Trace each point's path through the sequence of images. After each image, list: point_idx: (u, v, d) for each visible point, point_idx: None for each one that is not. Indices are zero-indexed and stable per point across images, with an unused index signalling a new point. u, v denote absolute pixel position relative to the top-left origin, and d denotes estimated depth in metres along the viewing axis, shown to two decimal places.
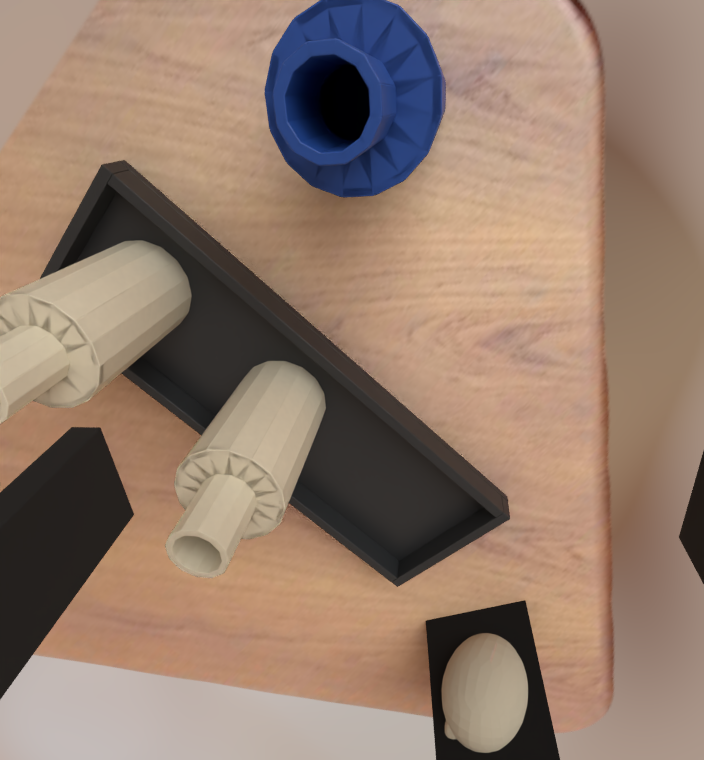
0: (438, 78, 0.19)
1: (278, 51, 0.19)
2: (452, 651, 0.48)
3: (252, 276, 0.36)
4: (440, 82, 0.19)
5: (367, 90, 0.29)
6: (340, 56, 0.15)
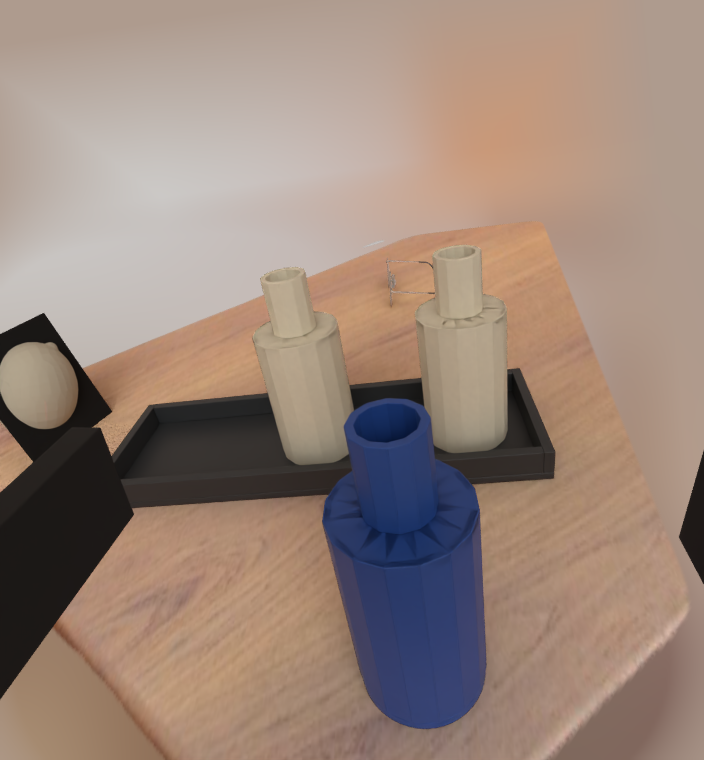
0: (353, 557, 0.21)
1: (471, 490, 0.23)
2: (78, 400, 0.56)
3: None
4: (349, 555, 0.21)
5: None
6: (400, 440, 0.19)
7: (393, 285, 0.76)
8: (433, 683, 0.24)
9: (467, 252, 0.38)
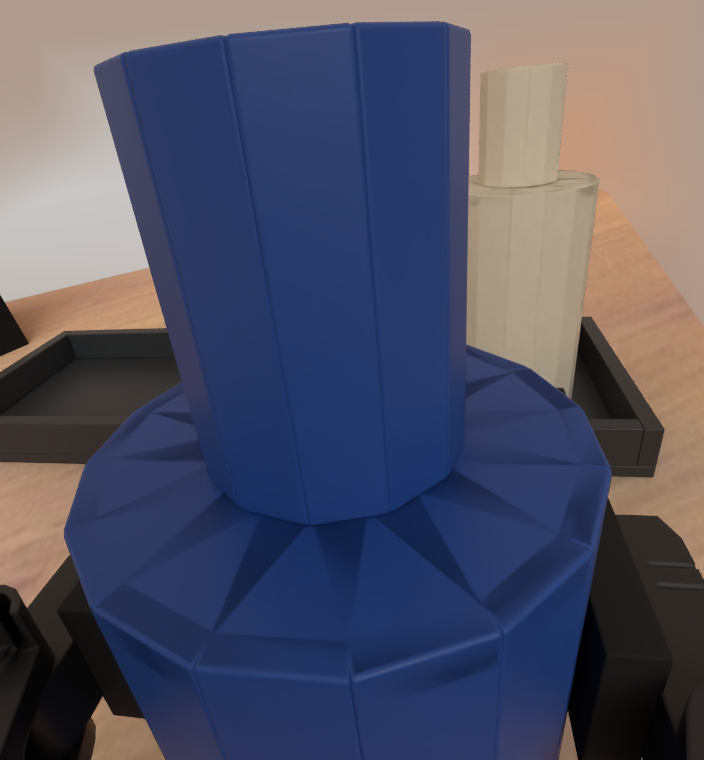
0: (101, 595, 0.05)
1: (572, 414, 0.07)
2: None
3: None
4: (88, 586, 0.05)
5: None
6: None
7: None
8: None
9: None
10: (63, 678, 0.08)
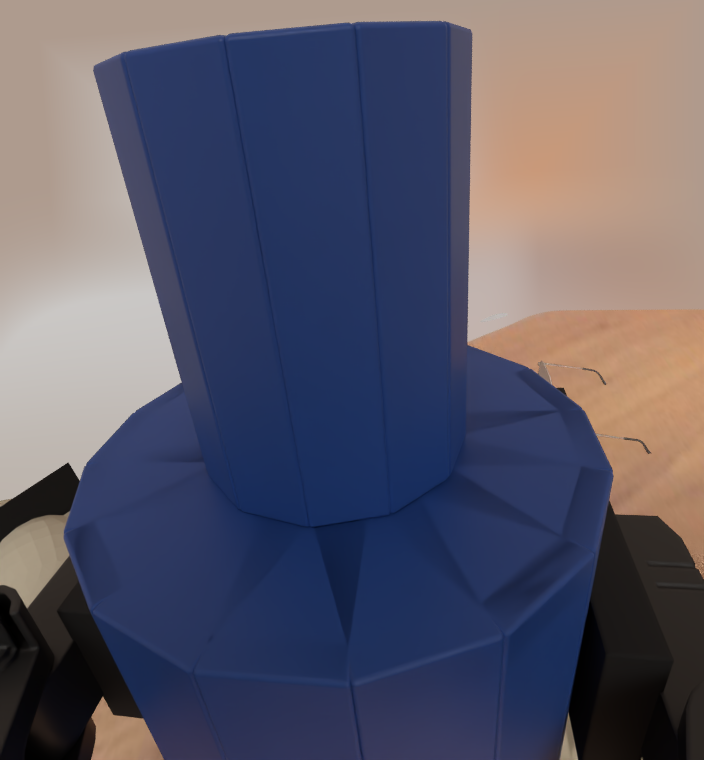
0: (101, 597, 0.05)
1: (573, 415, 0.07)
2: None
3: None
4: (88, 588, 0.05)
5: None
6: None
7: None
8: None
9: None
10: (63, 678, 0.08)
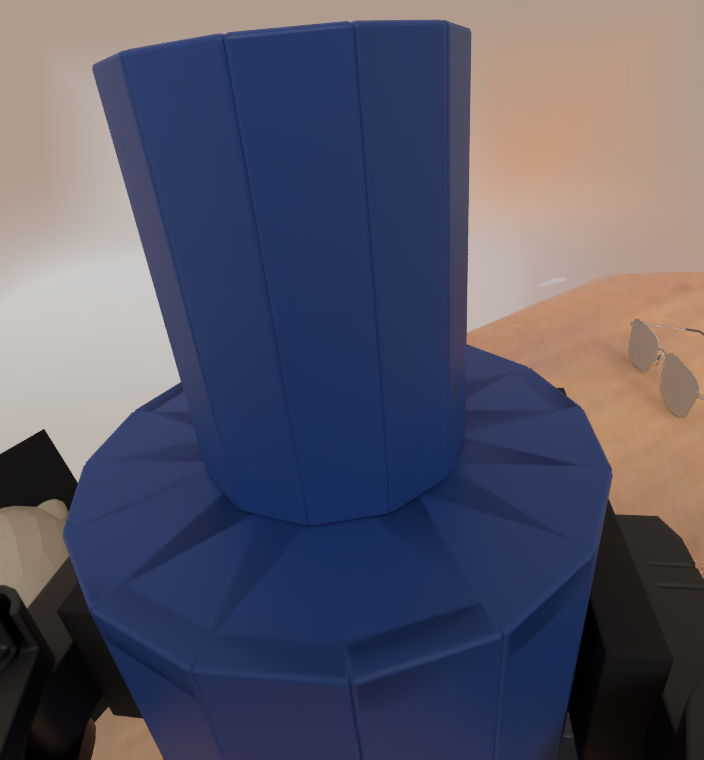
0: (100, 596, 0.05)
1: (572, 415, 0.07)
2: None
3: None
4: (87, 587, 0.05)
5: None
6: None
7: None
8: None
9: None
10: (63, 678, 0.08)
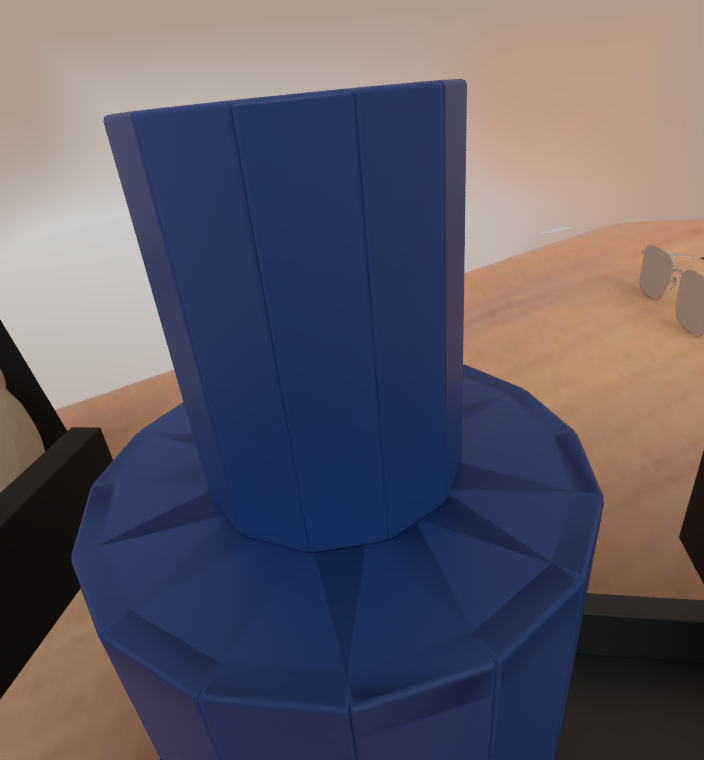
0: (109, 622, 0.05)
1: (566, 439, 0.07)
2: None
3: None
4: (97, 614, 0.05)
5: None
6: None
7: None
8: None
9: None
10: None
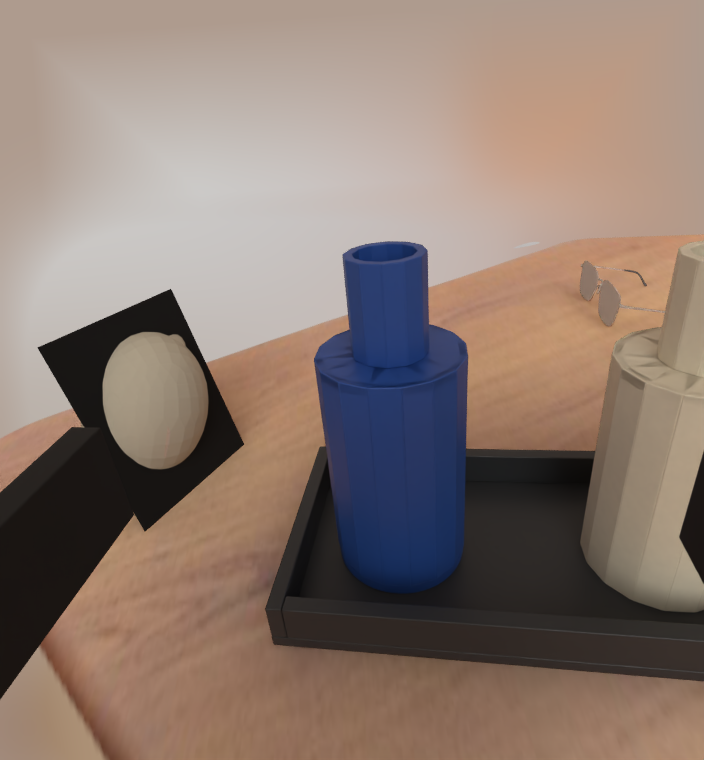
0: (339, 381, 0.21)
1: (462, 344, 0.23)
2: (205, 425, 0.37)
3: None
4: (336, 379, 0.21)
5: None
6: (395, 260, 0.20)
7: None
8: (407, 536, 0.24)
9: None
10: None
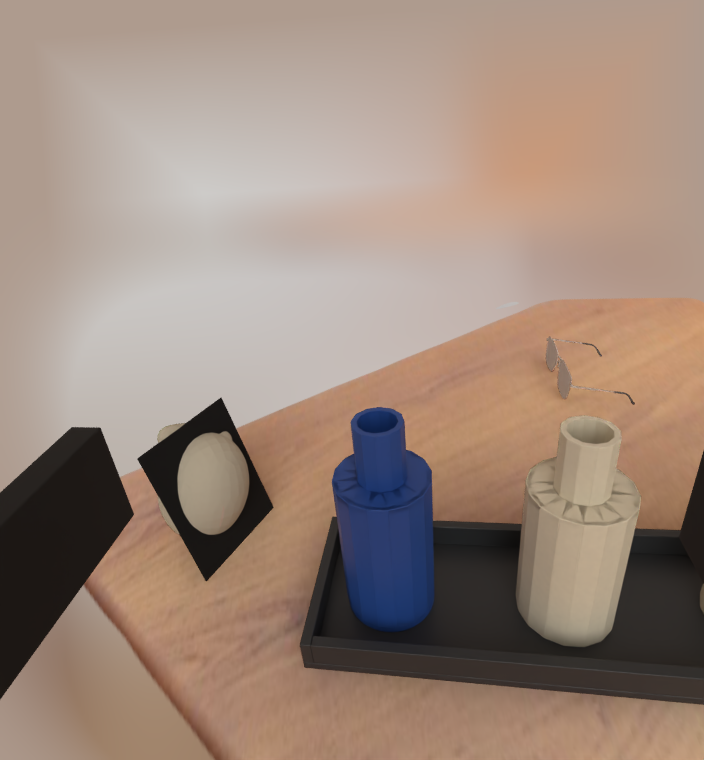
0: (348, 502, 0.34)
1: (428, 471, 0.36)
2: None
3: None
4: (346, 501, 0.34)
5: None
6: (383, 432, 0.32)
7: None
8: (393, 596, 0.36)
9: None
10: None
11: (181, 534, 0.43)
